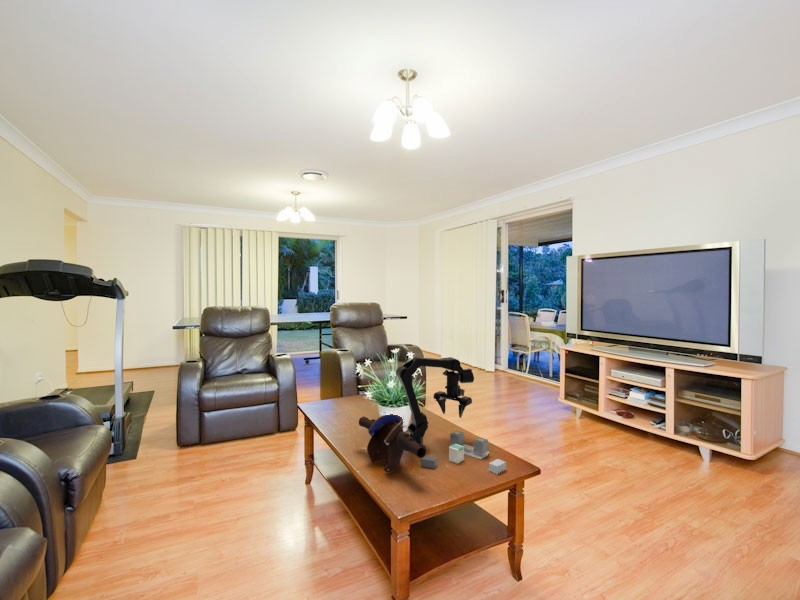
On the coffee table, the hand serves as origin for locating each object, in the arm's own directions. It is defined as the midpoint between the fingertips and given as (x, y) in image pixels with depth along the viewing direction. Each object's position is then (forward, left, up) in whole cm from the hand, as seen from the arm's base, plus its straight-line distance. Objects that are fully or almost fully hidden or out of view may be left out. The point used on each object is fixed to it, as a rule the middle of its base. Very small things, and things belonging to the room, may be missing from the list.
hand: (452, 415), depth 187 cm
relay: (-27, -6, -13) cm, 31 cm away
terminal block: (-12, -30, -13) cm, 35 cm away
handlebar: (-38, +7, -13) cm, 41 cm away
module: (-15, -12, -13) cm, 23 cm away
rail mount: (-4, -12, -13) cm, 18 cm away
